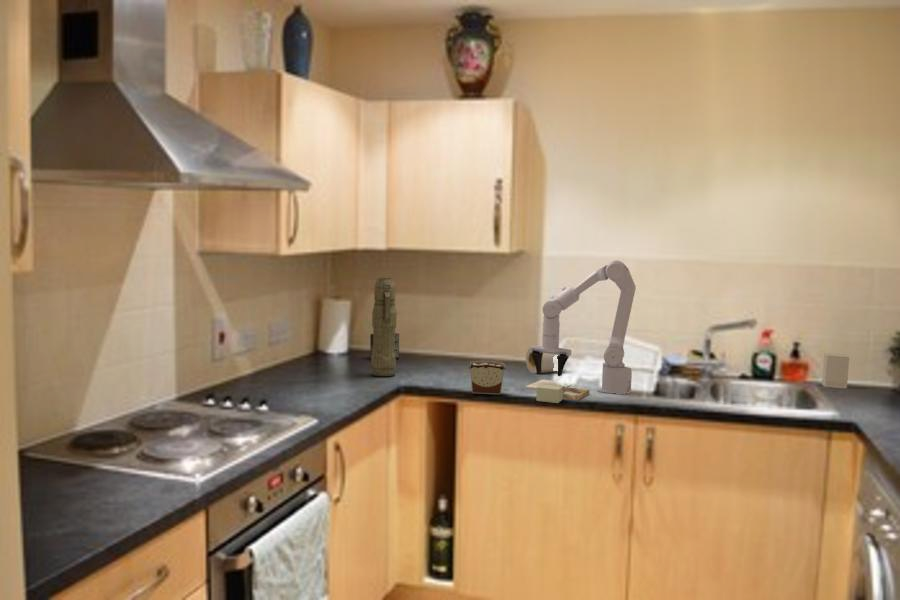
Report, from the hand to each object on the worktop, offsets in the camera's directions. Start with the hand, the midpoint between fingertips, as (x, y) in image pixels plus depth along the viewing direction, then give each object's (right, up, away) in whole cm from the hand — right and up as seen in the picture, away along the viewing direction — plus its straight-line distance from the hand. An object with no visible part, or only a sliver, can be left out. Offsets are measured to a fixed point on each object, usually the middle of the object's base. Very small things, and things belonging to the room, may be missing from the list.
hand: (549, 374), depth 270 cm
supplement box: (+103, -7, +10) cm, 104 cm away
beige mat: (0, -4, 0) cm, 4 cm away
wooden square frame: (+5, -6, -13) cm, 15 cm away
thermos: (-59, -2, +16) cm, 61 cm away
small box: (-61, +1, +49) cm, 78 cm away
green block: (+1, -4, -22) cm, 22 cm away
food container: (-22, -5, -10) cm, 25 cm away
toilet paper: (+1, -2, +28) cm, 28 cm away
